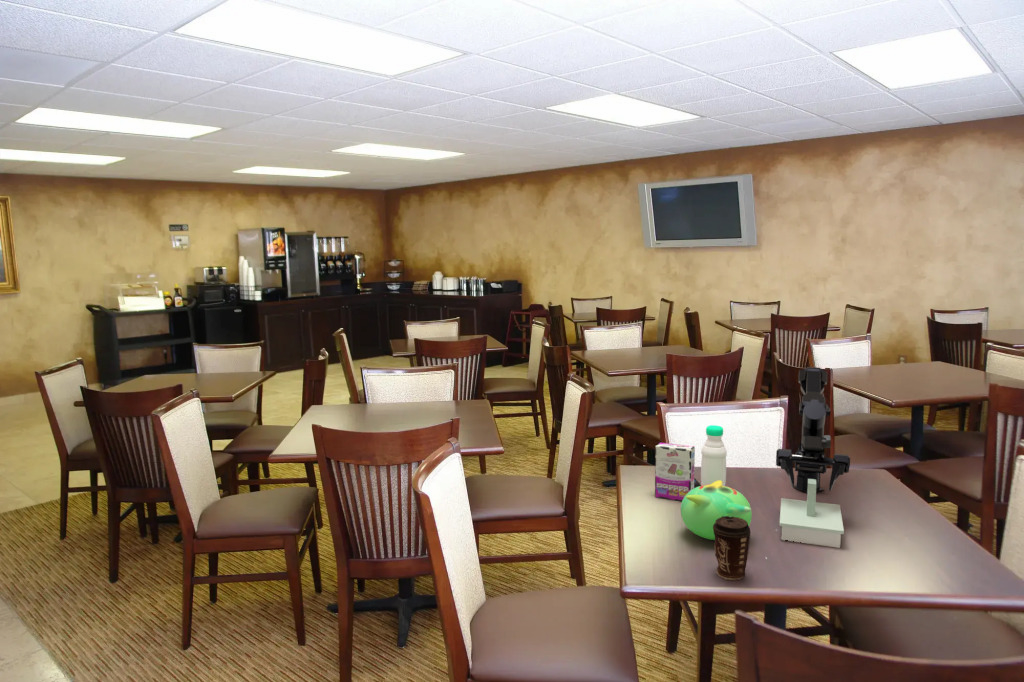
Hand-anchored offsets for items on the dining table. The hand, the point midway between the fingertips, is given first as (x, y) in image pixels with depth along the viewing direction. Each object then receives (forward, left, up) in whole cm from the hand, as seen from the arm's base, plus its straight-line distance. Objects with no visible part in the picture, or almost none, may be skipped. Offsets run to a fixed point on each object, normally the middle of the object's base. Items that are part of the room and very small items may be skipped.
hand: (811, 488), depth 192 cm
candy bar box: (+20, -34, -11) cm, 41 cm away
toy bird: (+28, -5, -11) cm, 30 cm away
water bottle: (+16, -21, -11) cm, 29 cm away
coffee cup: (+38, +13, -11) cm, 41 cm away
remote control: (+6, -48, -12) cm, 50 cm away
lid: (+2, +2, -8) cm, 8 cm away
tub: (+2, +2, -11) cm, 11 cm away
